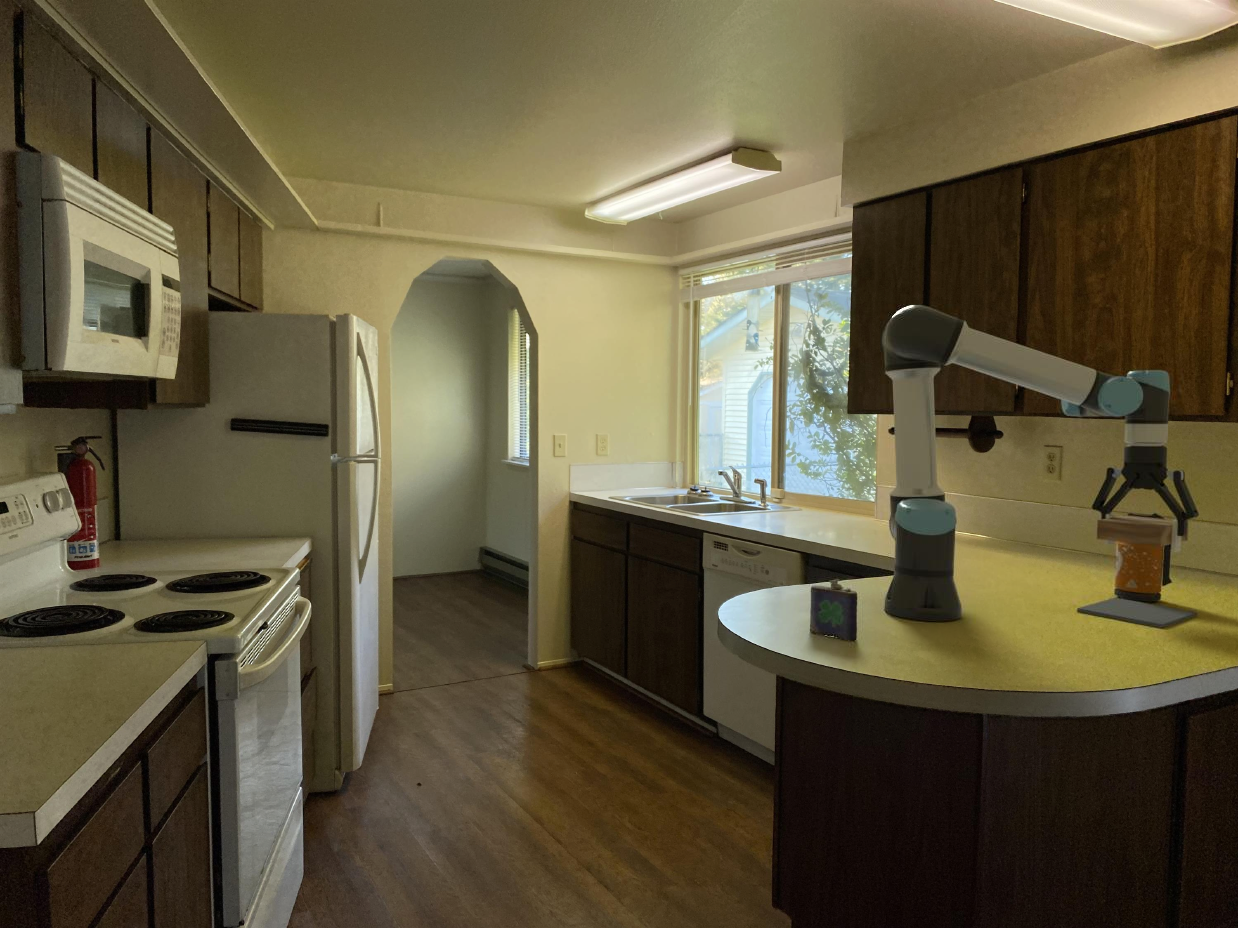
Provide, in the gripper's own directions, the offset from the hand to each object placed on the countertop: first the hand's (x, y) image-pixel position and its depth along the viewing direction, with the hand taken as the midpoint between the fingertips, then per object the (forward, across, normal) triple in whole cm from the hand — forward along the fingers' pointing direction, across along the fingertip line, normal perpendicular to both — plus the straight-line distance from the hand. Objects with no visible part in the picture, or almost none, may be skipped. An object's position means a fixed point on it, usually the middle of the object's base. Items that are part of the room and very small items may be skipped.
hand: (1141, 547), depth 169 cm
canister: (+14, +5, -16) cm, 22 cm away
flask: (+14, +25, +68) cm, 74 cm away
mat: (+14, 0, 0) cm, 14 cm away
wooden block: (-2, 0, 0) cm, 2 cm away
